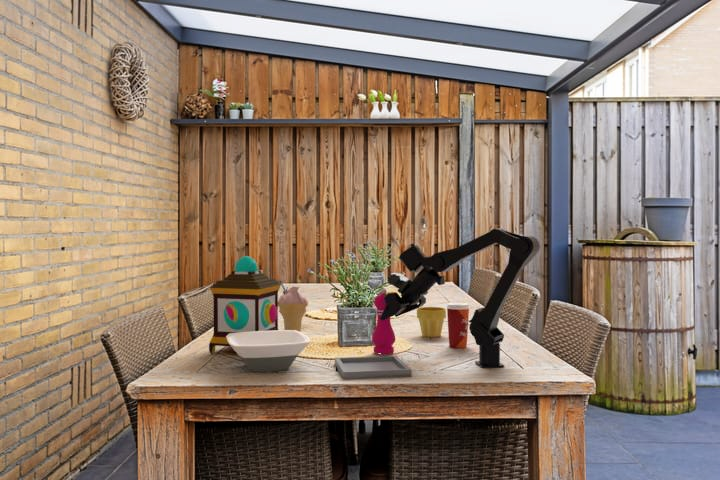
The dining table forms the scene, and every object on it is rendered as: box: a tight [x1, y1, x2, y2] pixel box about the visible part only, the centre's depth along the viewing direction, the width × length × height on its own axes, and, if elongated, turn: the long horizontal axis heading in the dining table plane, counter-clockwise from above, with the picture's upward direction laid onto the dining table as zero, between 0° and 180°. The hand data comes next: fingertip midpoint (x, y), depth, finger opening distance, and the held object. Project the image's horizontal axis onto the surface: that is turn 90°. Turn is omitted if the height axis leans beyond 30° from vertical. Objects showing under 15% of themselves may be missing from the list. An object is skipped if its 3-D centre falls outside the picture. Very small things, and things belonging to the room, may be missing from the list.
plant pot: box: [416, 306, 447, 338], centre depth 227 cm, size 10×10×10 cm
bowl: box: [226, 329, 311, 373], centre depth 177 cm, size 22×23×8 cm
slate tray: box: [334, 355, 413, 380], centre depth 174 cm, size 18×18×2 cm
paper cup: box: [445, 302, 471, 349], centre depth 207 cm, size 8×8×14 cm
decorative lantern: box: [208, 255, 282, 355], centre depth 200 cm, size 20×20×30 cm
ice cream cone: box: [278, 280, 309, 332], centre depth 226 cm, size 11×11×20 cm
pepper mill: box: [371, 288, 396, 355], centre depth 196 cm, size 7×7×20 cm
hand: (388, 317), depth 196 cm, fingers open, 9 cm apart
